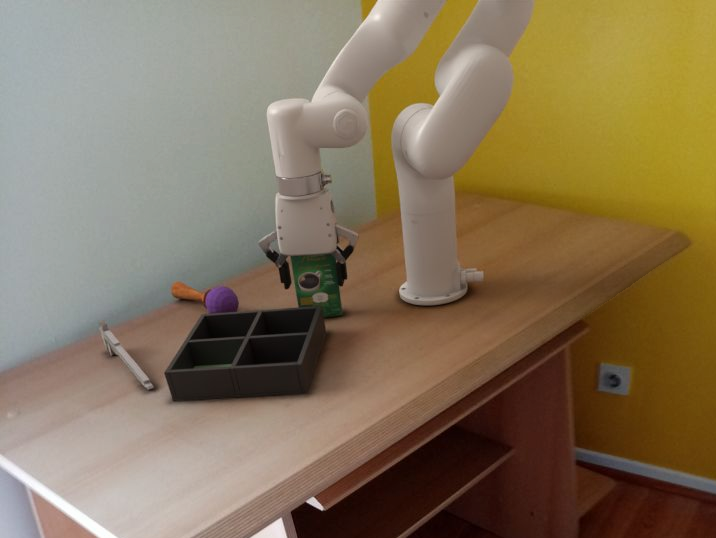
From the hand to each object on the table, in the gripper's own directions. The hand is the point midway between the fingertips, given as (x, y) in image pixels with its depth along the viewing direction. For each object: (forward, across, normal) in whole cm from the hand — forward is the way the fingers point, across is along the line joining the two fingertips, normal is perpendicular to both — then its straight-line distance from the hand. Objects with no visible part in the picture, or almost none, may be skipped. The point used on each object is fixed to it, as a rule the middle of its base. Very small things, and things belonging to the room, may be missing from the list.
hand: (314, 285), depth 135 cm
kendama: (+7, +23, -7) cm, 25 cm away
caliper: (+7, +30, +17) cm, 35 cm away
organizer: (+6, +8, +18) cm, 21 cm away
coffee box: (+6, 0, 0) cm, 6 cm away
